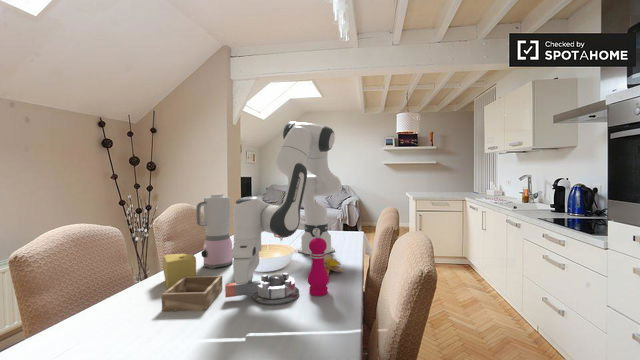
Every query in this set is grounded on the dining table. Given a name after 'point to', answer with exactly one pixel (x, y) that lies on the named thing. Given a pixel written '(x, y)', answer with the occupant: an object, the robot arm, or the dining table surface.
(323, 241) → the pepper mill
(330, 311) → the dining table surface
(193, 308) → the square wooden frame
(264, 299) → the domed metal lid
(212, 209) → the blender
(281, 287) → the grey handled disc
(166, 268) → the cheese
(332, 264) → the decorative flower
